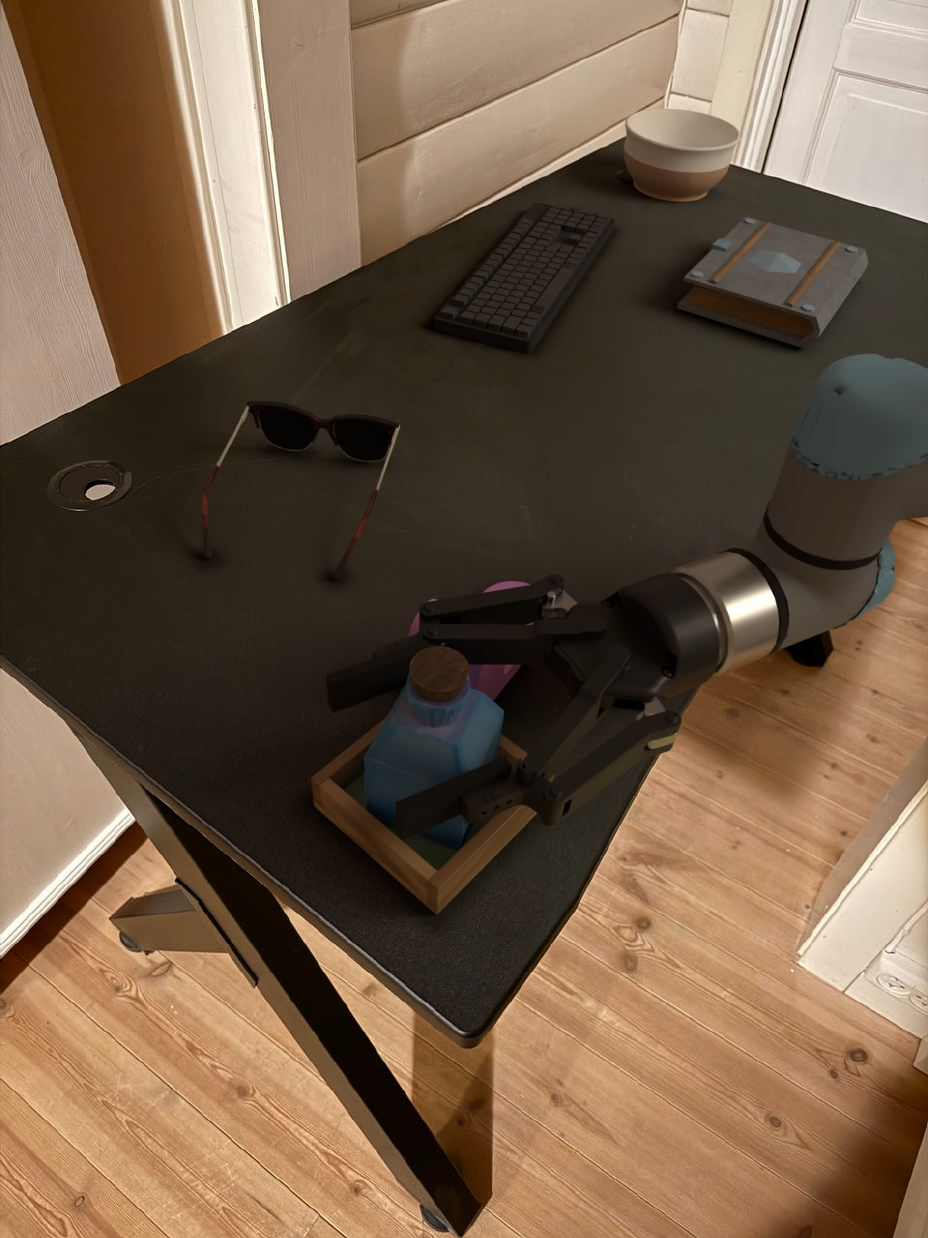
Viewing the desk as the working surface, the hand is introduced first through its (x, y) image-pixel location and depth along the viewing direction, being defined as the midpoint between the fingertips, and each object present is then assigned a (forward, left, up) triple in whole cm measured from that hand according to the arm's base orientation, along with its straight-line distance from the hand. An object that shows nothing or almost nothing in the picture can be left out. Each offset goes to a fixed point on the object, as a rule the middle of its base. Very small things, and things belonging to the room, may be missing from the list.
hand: (362, 754), depth 50 cm
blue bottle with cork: (-2, -4, -7) cm, 9 cm away
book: (+17, -84, -8) cm, 86 cm away
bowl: (+44, -104, -8) cm, 113 cm away
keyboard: (+40, -67, -8) cm, 79 cm away
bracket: (+4, -17, -8) cm, 19 cm away
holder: (-2, -4, -8) cm, 9 cm away
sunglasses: (+26, -18, -8) cm, 33 cm away
